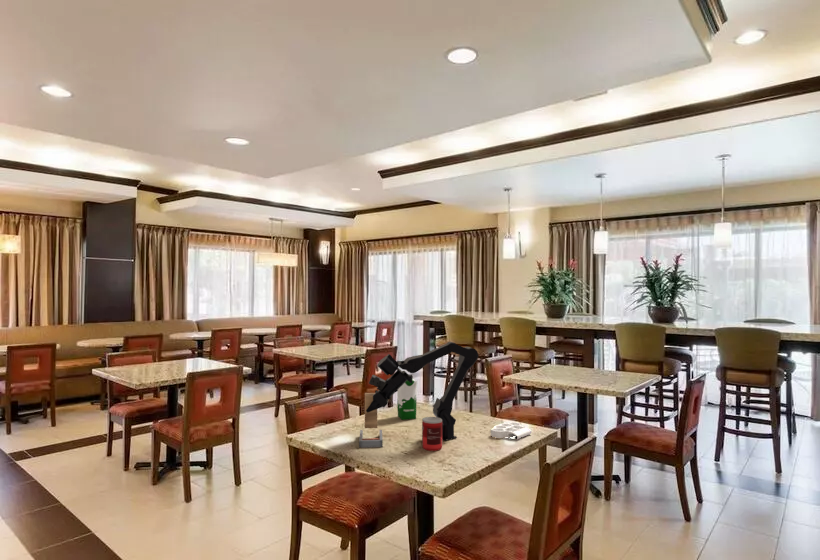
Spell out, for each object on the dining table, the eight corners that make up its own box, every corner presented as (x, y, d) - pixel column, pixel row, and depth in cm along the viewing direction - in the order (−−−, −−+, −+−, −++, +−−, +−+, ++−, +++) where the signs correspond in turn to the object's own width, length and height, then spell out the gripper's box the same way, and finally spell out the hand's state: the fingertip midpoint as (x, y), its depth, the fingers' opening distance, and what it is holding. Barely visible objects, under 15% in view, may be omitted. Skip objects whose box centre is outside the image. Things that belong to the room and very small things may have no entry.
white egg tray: (513, 443, 193) (482, 436, 203) (535, 434, 206) (505, 427, 216) (513, 435, 193) (482, 428, 203) (535, 426, 206) (505, 420, 216)
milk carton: (400, 420, 226) (400, 377, 227) (395, 416, 235) (395, 374, 235) (418, 419, 229) (418, 376, 229) (412, 414, 237) (412, 373, 238)
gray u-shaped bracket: (382, 447, 187) (382, 440, 187) (359, 447, 186) (359, 441, 186) (381, 435, 202) (381, 429, 202) (360, 436, 201) (360, 430, 201)
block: (377, 428, 193) (377, 395, 194) (364, 428, 193) (364, 395, 193) (377, 424, 198) (377, 392, 199) (364, 425, 198) (365, 393, 198)
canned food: (431, 443, 191) (431, 415, 192) (446, 448, 186) (446, 419, 186) (417, 447, 186) (417, 419, 186) (433, 452, 180) (433, 422, 181)
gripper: (382, 365, 205) (356, 391, 205) (378, 372, 187) (350, 400, 187) (401, 383, 205) (375, 410, 205) (398, 392, 186) (370, 421, 186)
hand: (367, 410), depth 196 cm, fingers closed on block, 5 cm apart
